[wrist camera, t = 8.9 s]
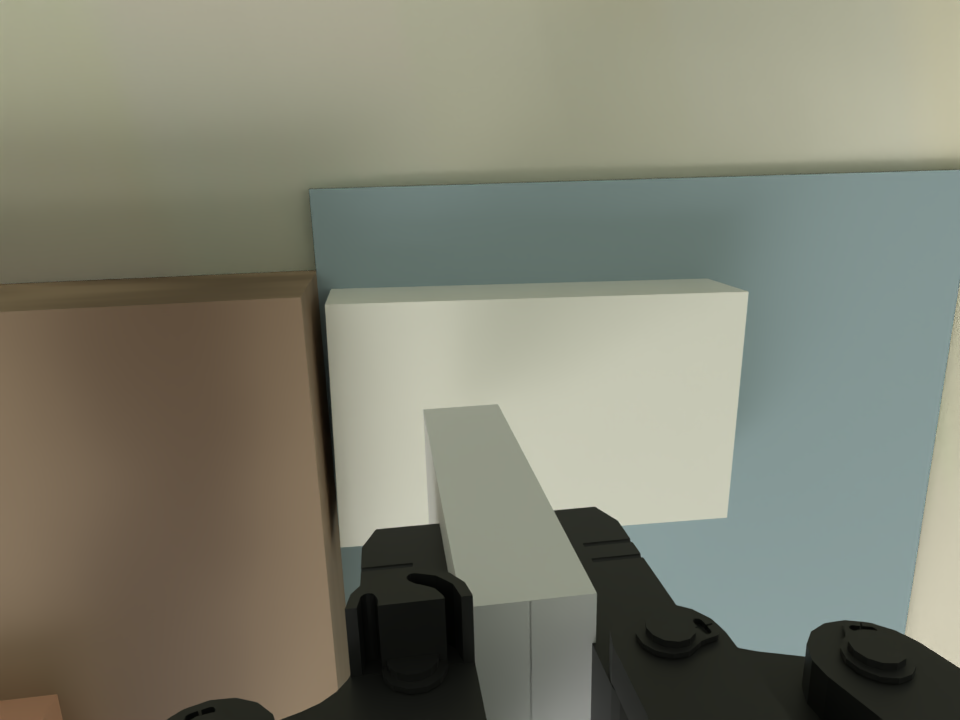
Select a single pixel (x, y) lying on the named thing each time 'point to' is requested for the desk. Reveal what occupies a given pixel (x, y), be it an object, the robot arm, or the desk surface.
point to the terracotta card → (31, 708)
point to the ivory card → (541, 392)
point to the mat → (765, 363)
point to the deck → (168, 496)
